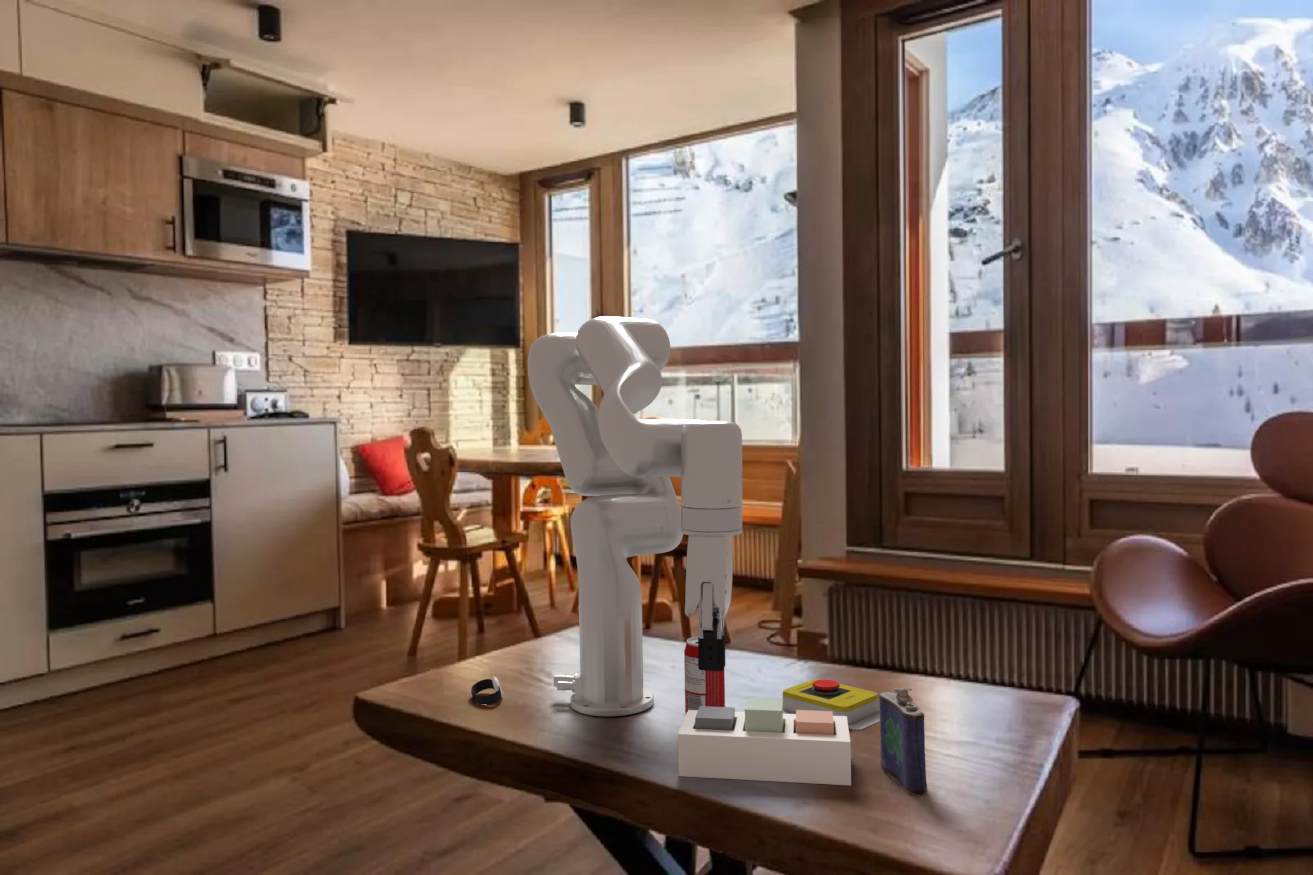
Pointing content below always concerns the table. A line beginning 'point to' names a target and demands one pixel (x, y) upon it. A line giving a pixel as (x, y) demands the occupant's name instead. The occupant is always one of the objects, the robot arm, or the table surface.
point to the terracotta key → (814, 722)
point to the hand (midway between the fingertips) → (711, 668)
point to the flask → (903, 741)
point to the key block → (765, 753)
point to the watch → (487, 685)
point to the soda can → (701, 681)
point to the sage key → (764, 715)
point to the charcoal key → (715, 718)
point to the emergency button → (834, 701)
